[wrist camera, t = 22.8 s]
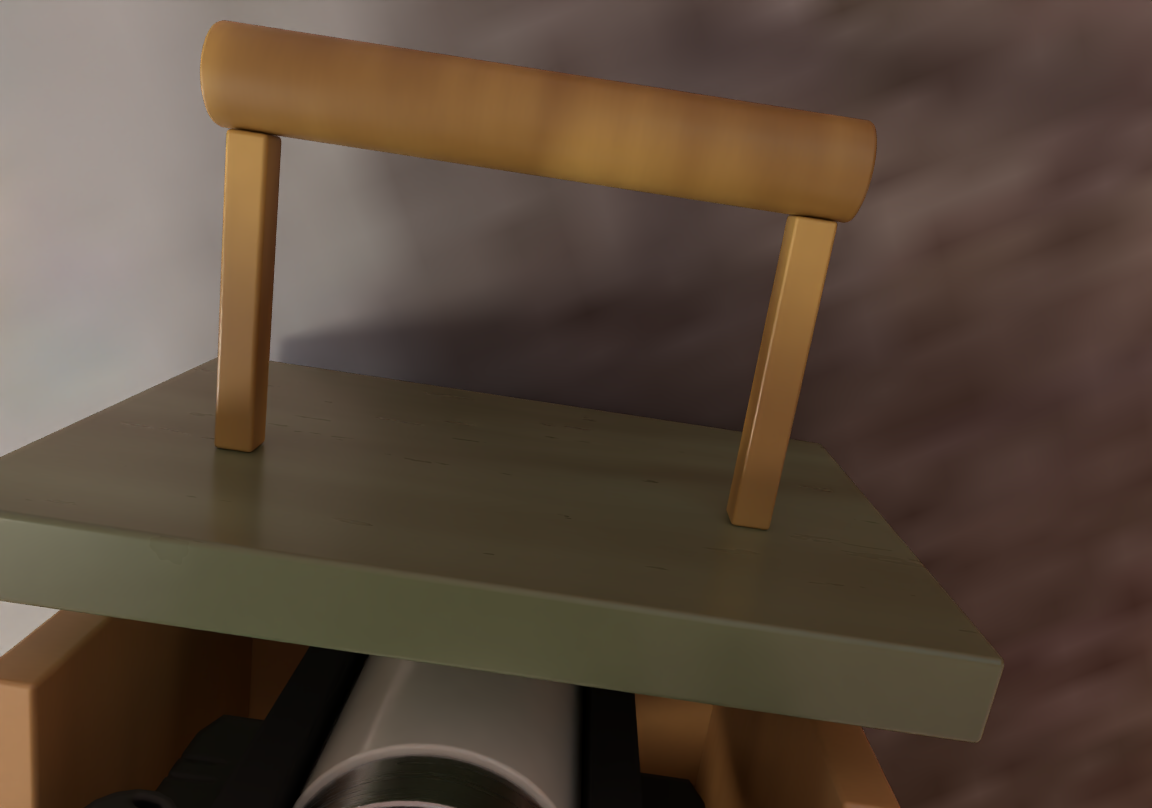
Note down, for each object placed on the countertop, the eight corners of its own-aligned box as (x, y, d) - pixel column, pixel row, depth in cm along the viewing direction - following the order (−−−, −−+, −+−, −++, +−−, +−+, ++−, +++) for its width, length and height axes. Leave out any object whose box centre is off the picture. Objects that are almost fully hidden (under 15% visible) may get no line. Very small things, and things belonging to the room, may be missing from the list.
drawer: (234, 54, 17) (-133, -75, 8) (889, 155, 17) (1178, 129, 8) (203, 825, 21) (-51, 1239, 13) (715, 898, 22) (789, 1355, 13)
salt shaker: (407, 761, 18) (301, 1083, 12) (354, 581, 17) (205, 824, 11) (605, 729, 18) (609, 1042, 12) (563, 543, 17) (541, 771, 10)
